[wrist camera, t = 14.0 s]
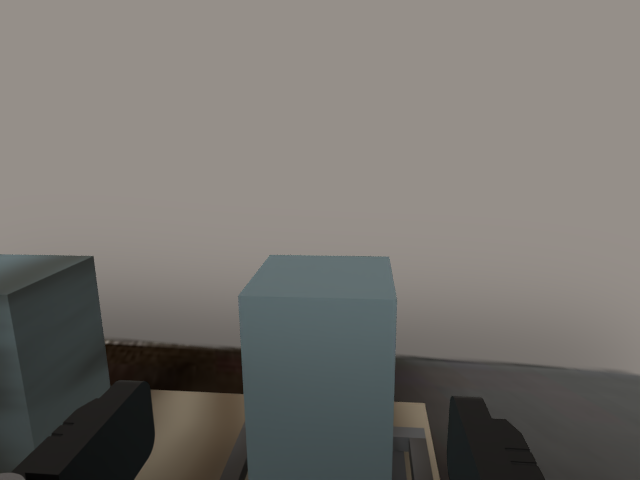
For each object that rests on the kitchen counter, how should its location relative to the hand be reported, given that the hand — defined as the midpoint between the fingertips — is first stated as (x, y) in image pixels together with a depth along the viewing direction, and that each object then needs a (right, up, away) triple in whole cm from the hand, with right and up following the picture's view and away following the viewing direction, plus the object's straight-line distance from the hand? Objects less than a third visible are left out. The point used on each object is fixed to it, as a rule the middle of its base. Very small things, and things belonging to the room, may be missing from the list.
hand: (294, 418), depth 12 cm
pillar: (+1, -6, +7) cm, 9 cm away
